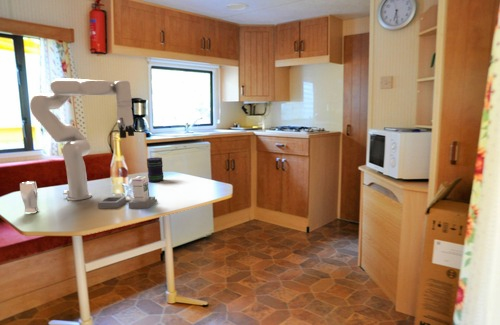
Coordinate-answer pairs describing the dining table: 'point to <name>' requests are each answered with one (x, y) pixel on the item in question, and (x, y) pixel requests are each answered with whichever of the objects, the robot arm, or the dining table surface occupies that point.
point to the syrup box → (140, 189)
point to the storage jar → (155, 170)
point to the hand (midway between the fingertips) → (127, 136)
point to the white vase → (29, 195)
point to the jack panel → (118, 201)
